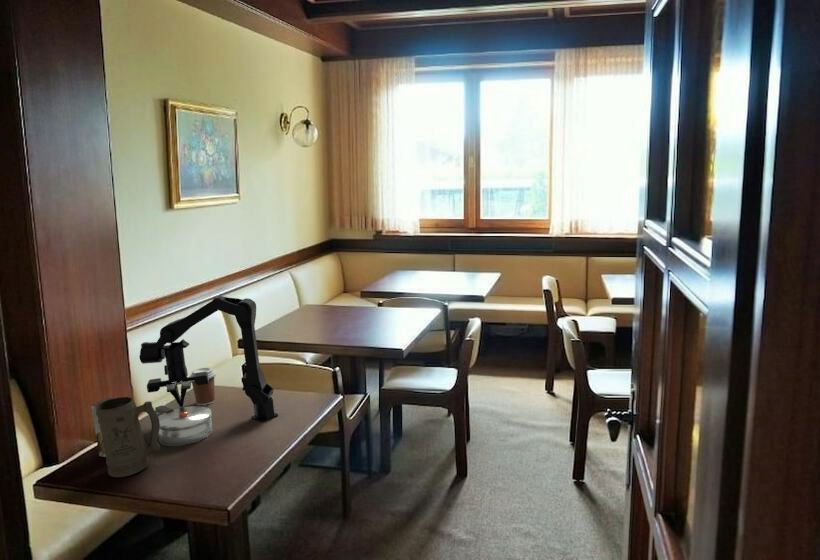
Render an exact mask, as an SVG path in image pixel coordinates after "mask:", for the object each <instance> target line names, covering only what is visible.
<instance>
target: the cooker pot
mask: <svg viewBox="0 0 820 560" xmlns="http://www.w3.org/2000/svg"><path fill="white" fill-rule="evenodd" d="M157 415H158V417H159V416H160V415H162V414H160V413H157ZM212 421H213V420H212V417H211V418H210V419H209V420H208V421H206V422H205V423H203V424H201V425H198V426H195V427H192V428H187V429H182V430H162V429H159V434H158V441H159V442H158V443H159V444H160V445H162V446H167V447H181V446H182V445H183V446H188V444H189V445H192V444H191V443H193V444H196V443H198V442H197V441H199V440H202V439H204V438H206V437H207V438H209V437H210V436H211V435H212V434H213V432H214V429H213V424H212V423H213V422H212ZM212 431H213V432H212ZM211 433H212V434H211ZM210 434H211V435H210ZM209 435H210V436H209ZM208 436H209V437H208ZM207 438H206V439H207ZM204 440H205V439H204ZM202 441H203V440H202ZM195 442H196V443H195ZM199 442H200V441H199Z"/></svg>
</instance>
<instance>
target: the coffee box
mask: <svg viewBox="0 0 820 560" xmlns="http://www.w3.org/2000/svg"><path fill="white" fill-rule="evenodd" d="M110 399H114V398H112V397H106V398H103V399H102V400H99V401H98V402H96V403H94V404H93V403H92V404H91V405H90V408H91V414H92V419H93V425H94V431H95V438H96V444H97V450H98V456H99V457H103V458H106V454H105V449H104V444H103V439H102V433H101V428H100V423H99V419H98V417H97V415H96V407H97V405H98V404H100V403H102V402H104V401H106V400H110Z"/></svg>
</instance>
